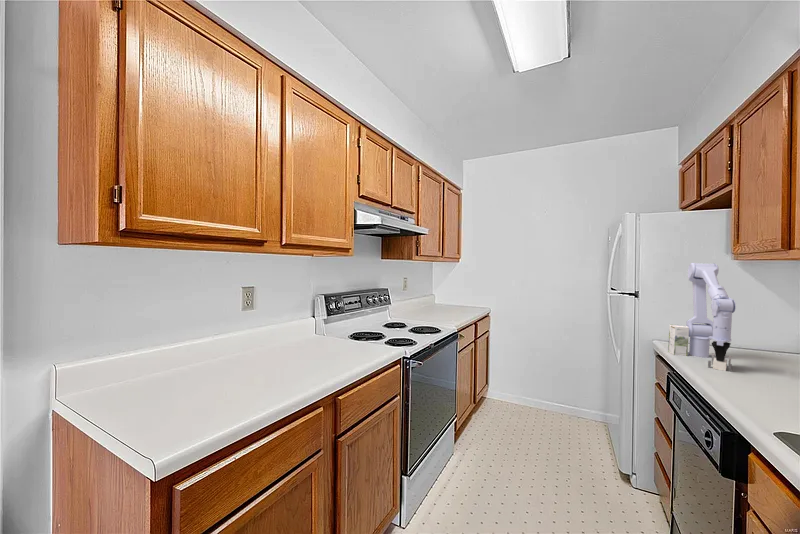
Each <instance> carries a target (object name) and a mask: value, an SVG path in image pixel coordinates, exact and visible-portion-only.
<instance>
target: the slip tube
mask: <svg viewBox="0 0 800 534" xmlns="http://www.w3.org/2000/svg"><path fill="white" fill-rule="evenodd" d="M727 368H728V359H726V357H725V358H724V361H717V360H716V357H714V361H713V365H712V369H713V370H719V371H725V372H726V371H727Z"/></svg>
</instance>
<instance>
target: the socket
mask: <svg viewBox="0 0 800 534" xmlns="http://www.w3.org/2000/svg"><path fill="white" fill-rule="evenodd" d="M711 362H712V360H708V362H707V368H708V369H711V368H712V364H711ZM732 366H733V365H732V363H731V364H729V367H728V372H732Z"/></svg>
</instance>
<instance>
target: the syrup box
mask: <svg viewBox="0 0 800 534" xmlns="http://www.w3.org/2000/svg"><path fill="white" fill-rule="evenodd" d="M668 331H669V332H668V347H667V353H670V354H671V355H673V356H681V357H688V354H689V352H688V351H689V338H690V337H689V327H687V326H686V325H685V324H670V323H669V329H668Z"/></svg>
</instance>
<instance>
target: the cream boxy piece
mask: <svg viewBox="0 0 800 534" xmlns="http://www.w3.org/2000/svg"><path fill="white" fill-rule="evenodd" d="M714 359H715V352H714V353H712V354H711V366H713V361H714ZM729 364H732V356H731V355H728V361H727V368H729Z"/></svg>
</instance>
